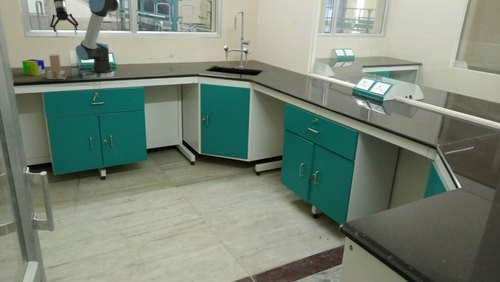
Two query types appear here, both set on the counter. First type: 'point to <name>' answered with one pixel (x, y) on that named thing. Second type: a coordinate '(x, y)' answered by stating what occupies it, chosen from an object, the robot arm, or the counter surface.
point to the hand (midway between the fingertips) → (66, 35)
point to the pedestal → (56, 75)
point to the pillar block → (55, 63)
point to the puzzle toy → (33, 67)
